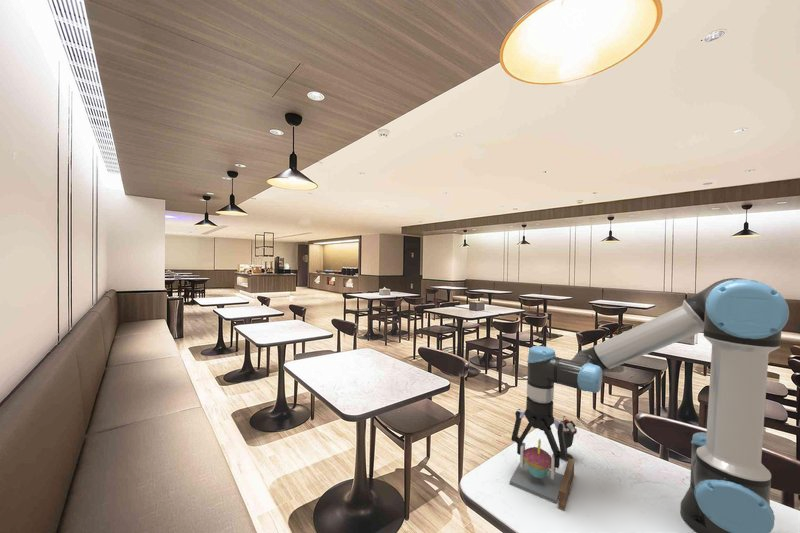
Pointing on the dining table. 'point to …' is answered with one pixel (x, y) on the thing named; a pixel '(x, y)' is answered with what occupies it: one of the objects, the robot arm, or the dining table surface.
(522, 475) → the board
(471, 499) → the dining table surface
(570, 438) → the sundae
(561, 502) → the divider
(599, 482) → the dining table surface
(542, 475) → the cupcake
